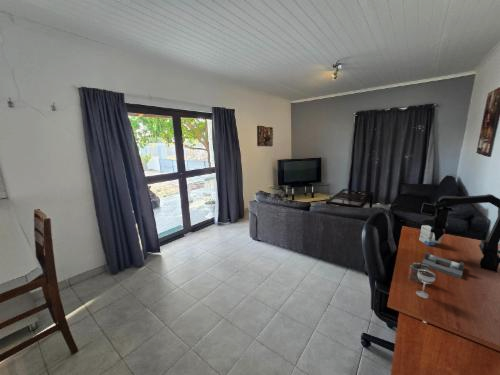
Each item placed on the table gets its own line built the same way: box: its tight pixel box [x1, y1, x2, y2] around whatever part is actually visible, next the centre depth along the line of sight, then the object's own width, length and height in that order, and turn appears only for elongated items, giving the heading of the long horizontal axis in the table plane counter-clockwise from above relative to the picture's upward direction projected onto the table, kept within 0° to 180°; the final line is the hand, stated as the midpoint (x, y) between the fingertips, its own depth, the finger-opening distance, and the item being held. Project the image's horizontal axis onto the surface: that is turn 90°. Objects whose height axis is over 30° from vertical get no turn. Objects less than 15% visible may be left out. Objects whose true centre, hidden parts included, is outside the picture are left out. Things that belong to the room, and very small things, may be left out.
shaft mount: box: [421, 251, 465, 280], centre depth 125 cm, size 17×14×6 cm
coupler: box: [432, 233, 443, 244], centre depth 135 cm, size 5×5×7 cm
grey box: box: [407, 262, 430, 284], centre depth 113 cm, size 8×3×10 cm, turn 62°
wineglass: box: [415, 269, 437, 299], centre depth 103 cm, size 7×7×12 cm
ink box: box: [418, 224, 436, 246], centre depth 151 cm, size 9×5×12 cm, turn 179°
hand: (436, 239), depth 135 cm, fingers closed on coupler, 4 cm apart
